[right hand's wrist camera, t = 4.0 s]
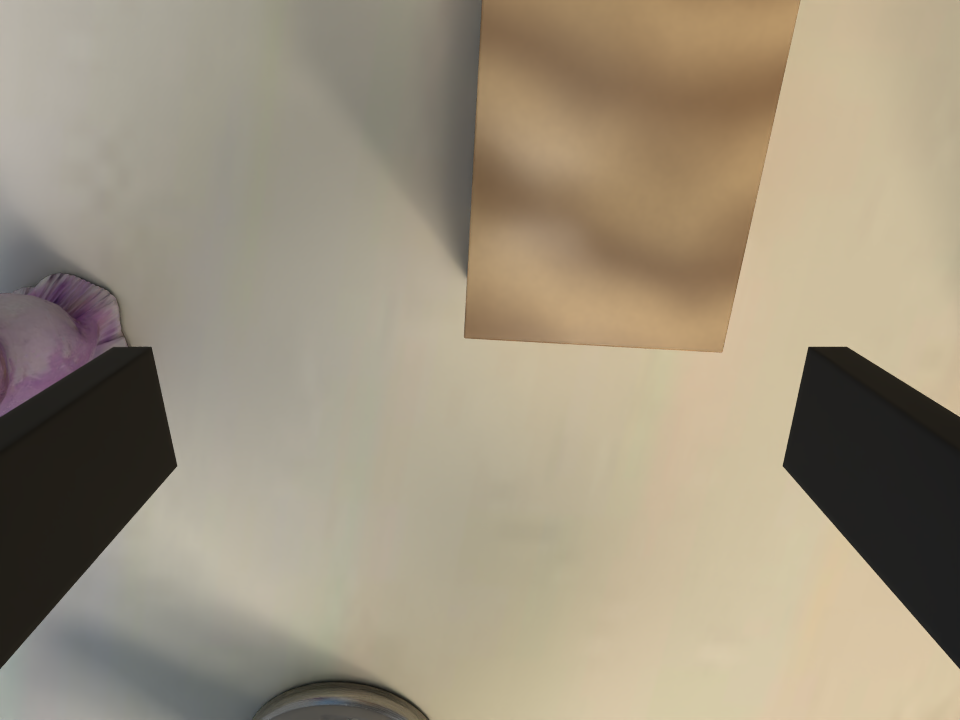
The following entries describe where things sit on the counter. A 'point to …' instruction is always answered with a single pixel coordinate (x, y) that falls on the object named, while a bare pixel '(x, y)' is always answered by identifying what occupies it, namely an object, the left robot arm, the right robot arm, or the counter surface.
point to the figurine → (52, 334)
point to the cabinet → (619, 166)
